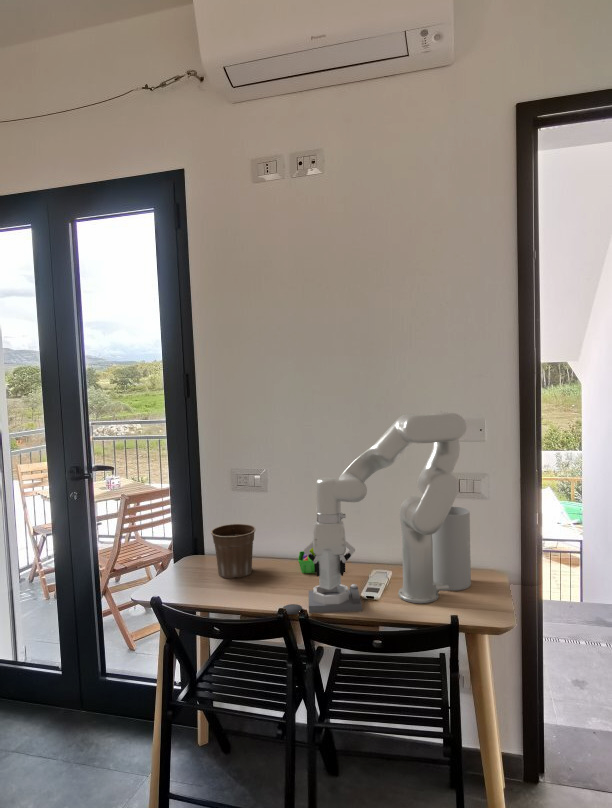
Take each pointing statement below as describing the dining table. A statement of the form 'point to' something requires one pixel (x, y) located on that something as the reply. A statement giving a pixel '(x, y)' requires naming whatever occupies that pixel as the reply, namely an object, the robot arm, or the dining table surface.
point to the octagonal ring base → (335, 599)
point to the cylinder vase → (453, 550)
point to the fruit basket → (306, 562)
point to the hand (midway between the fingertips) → (329, 574)
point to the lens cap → (292, 609)
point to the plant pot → (234, 549)
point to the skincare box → (329, 570)
